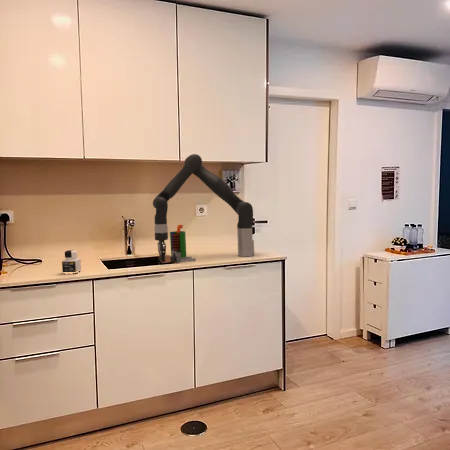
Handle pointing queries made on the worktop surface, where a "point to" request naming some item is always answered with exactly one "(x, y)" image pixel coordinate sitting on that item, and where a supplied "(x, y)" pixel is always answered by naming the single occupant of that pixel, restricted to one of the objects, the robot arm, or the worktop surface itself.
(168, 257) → the plug
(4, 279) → the worktop surface
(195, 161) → the robot arm
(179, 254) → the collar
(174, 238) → the motor
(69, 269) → the medicine bottle
